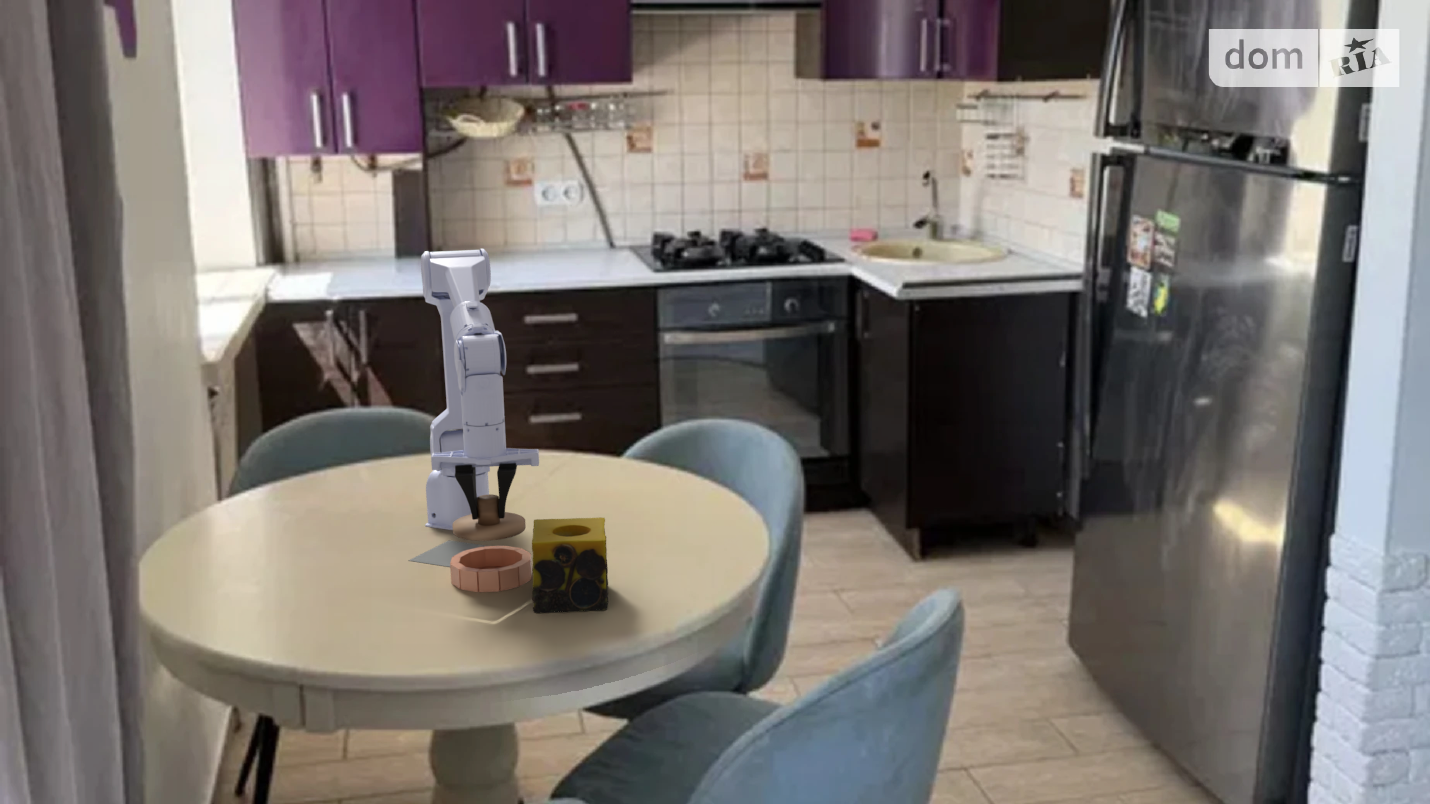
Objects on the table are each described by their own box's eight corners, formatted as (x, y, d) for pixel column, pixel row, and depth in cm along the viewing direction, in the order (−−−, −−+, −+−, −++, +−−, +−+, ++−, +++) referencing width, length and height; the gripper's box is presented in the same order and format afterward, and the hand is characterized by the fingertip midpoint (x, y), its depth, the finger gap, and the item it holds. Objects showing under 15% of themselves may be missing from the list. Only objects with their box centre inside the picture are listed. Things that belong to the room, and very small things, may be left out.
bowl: (436, 587, 190) (434, 565, 189) (481, 563, 200) (480, 542, 199) (503, 598, 185) (502, 576, 185) (546, 573, 195) (545, 551, 194)
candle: (535, 588, 189) (531, 518, 187) (608, 584, 190) (606, 515, 188) (531, 615, 180) (528, 542, 177) (609, 611, 180) (606, 539, 178)
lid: (438, 536, 188) (436, 504, 187) (477, 515, 197) (475, 484, 196) (502, 544, 184) (501, 511, 183) (538, 522, 194) (537, 491, 193)
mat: (408, 562, 200) (408, 560, 200) (449, 542, 209) (448, 540, 209) (465, 571, 196) (465, 569, 196) (504, 550, 205) (504, 548, 205)
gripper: (426, 430, 183) (432, 527, 186) (536, 426, 184) (540, 523, 187) (432, 418, 190) (438, 512, 193) (537, 414, 191) (542, 508, 194)
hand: (488, 516), depth 190 cm, fingers closed on lid, 3 cm apart
